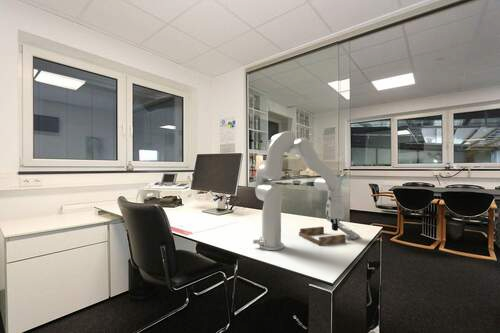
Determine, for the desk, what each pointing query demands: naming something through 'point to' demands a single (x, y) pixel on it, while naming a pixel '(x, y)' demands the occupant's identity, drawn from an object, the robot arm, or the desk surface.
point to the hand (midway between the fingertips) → (334, 230)
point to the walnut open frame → (322, 240)
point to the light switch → (348, 231)
